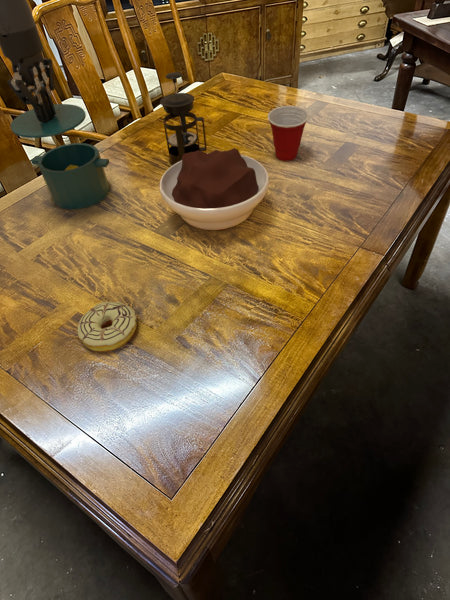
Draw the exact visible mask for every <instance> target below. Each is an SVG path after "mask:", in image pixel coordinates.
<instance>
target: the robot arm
mask: <svg viewBox="0 0 450 600" xmlns="http://www.w3.org/2000/svg"><path fill="white" fill-rule="evenodd" d="M0 51H1V52H2V55H3V56H4V57H5V58H7V59H8V60H9V62H11V68H12V69H11V70H12V72H13V75H12V79H10V78H9V79H7V86H8V87H9V88H10V89H11V90H12V91H13V93H14V94H15V95H16V96H17V98H18V99H19V100H20V102H22V103H23V105H25V106H28V105H31V106H32V109H34V111H35V113H36V116H37V119H38V120H39V121H40V122H48V121H49V117H48V114H47V111H46V109H45V106H44V103H42V98H41V94H45V95H46V97H47V100H48V102H49V105H50V108H51V111H52V114H53V116H54V115H55V114H56V112H55V108H54V102H53V99H52V95H53V94H52V91H55V89H56V87H55V79H54V78H55V77H54V67H53V60H52V59H51V58H45V57H43V56H42V53H43V51H44V46H43V43H42V40H41V37H40V34H39V30H38V27H37V25H36V22H35V19H34V15H33V12H32V10H31V7H30V5H29V2H28V0H0ZM33 93H34V94H33ZM34 96H35V97H36V98H35V97H34Z"/></svg>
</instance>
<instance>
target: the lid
mask: <svg viewBox="0 0 450 600" xmlns="http://www.w3.org/2000/svg"><path fill="white" fill-rule="evenodd" d="M33 96H34V97H35V95H33ZM35 98H36V97H35ZM41 98H42V103H44V106H45V109H46V111H47V114H48V117H49V121H48V122H40V121H39V120H38V119H37V116H36V113H35V111H34V109H33V108H32V109H29V110H27V111H25V112H23V113H21V114H19V115H17V116H16V117H15V118H14V119H13V120H12V121H11V123H10V130H11V133H13V134H14V135H16V136H18V137H21V138H27V139H39V138H40V139H41V138H51V137H53V136H54V137H55V136H57V135H62V134H65V133H67V132H70V131H72V130H74V129H76V128H77V127H79V126H80V125H82V124H83V122H84V121H85V120H86V117H87V115H86V111H85V109H83V108H82V107H80V106H78V105H75V104H70V103H69V104H68V103H55V104H54V103H53V105H54V108H55V112H56V114H55V115H54V116H53V114H52V111H51V108H50V105H49V102H48V100H47V97H46V95H45V94H41Z"/></svg>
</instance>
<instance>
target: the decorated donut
mask: <svg viewBox="0 0 450 600" xmlns="http://www.w3.org/2000/svg"><path fill="white" fill-rule="evenodd" d="M137 318H138V317H137V316H136V311H135V310H134V308H132V307H131V306H129V305H128V304H126V303H123V302H120V301H103V302H100V303H98V304H96V305H94V306H93V307H92V308H90V309H89V310H88V311H87V312H85V313H84V314H83V315H82V317H81V318H80V320H79V322H78V325H77V336H78V338H79V341H80V342H81V343H82V344H83V345H84V347H86V348H88V349H89V350H91V351H94V352H111V351H116V350H117V349H120V348H122V347H124V346H125V345H126V344H127V343H129V341H131V339H132V338H133V336H134V334H135V331H136V330H137V325H138V324H137ZM108 325H110V326H108Z"/></svg>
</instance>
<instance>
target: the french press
mask: <svg viewBox="0 0 450 600" xmlns="http://www.w3.org/2000/svg"><path fill="white" fill-rule="evenodd" d="M182 77H183V74H182V73H181V72H177V71H175V72H169V73H167V74H166V75H165V78H166V79H168V80H172V83H173V84H174V92H175V93H170V94H167V95H164V96H163V97H161V99H160V100H159V104H160V105H161V106H162V108H163V110H164V112H165V113H166V115H165V116H164V117H163V119H162V121H163V128H164V135H165V141H166V146H167V152H168V158H169V159H168V162H169V165H171V166H173V165H174V164H176V163H177V162H179V161H181V160H182V156H183V154H186V153H189V152H195V151H203V152H206V151H207V148H208V147H207V137H206V135H207V134H206V128H205V127H206V126H205V118H204V116H197V115H196V114H195V113H193V112H191V111H192V110H193V109H194V108H195V107H194V102H195V96H194V95H192V94H190V93H186V92H178V89H177V79H180V78H182ZM186 117H188V118H191V119H194V120H193V121H191V122H189V123H187V119H186ZM175 118H178V120H179V121H178V122H179V125H173V124H169V123H167V122H168V121H170V120H172V119H175ZM198 122H201V123H202V133H203V134H202V135H203V142H204V146H200V138H199V128H198ZM193 127H195V129H196V130H195V131H196V133H194V132H191V131H188V130H189V129H190V130H191V129H192V128H193ZM168 131H174V132H175V133H172V134H171V135H168Z"/></svg>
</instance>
